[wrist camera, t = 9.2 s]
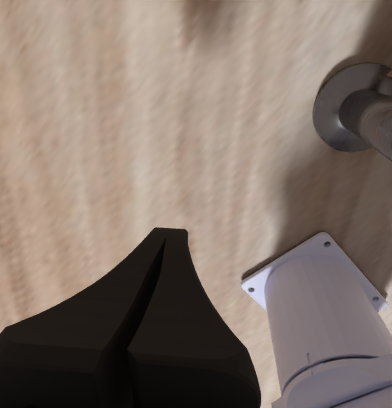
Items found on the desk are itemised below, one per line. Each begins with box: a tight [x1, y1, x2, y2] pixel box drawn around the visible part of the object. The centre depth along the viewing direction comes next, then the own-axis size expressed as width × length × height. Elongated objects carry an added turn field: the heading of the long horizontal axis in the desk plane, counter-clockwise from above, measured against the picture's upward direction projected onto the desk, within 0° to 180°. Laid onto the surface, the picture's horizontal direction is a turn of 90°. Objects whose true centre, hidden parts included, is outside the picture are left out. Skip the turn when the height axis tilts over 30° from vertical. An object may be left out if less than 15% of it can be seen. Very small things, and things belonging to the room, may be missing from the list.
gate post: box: [313, 63, 392, 161], centre depth 15 cm, size 5×5×8 cm
